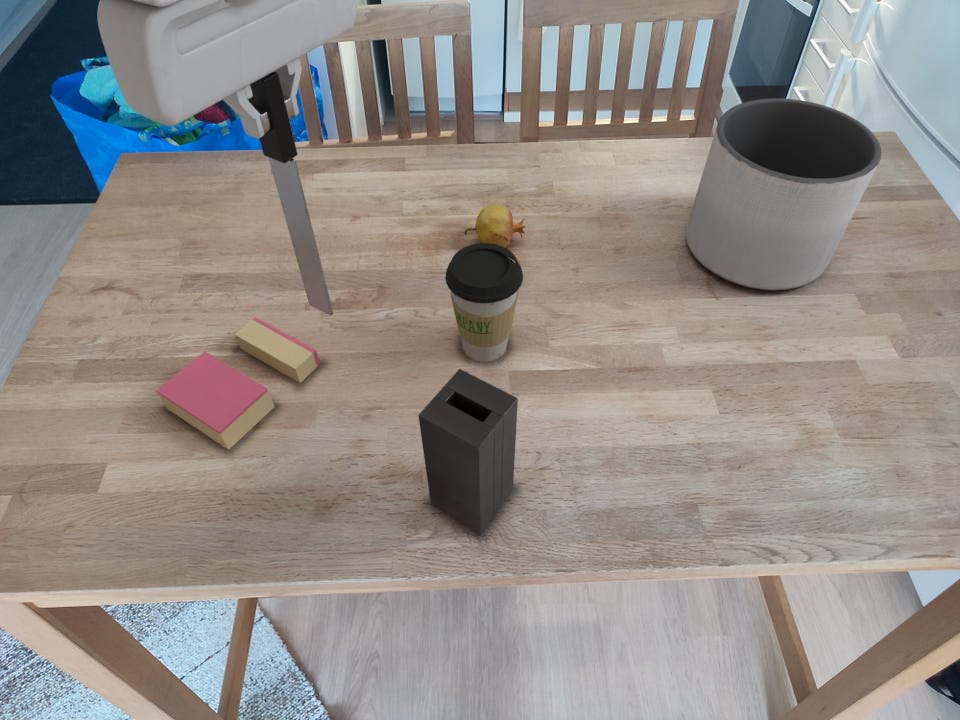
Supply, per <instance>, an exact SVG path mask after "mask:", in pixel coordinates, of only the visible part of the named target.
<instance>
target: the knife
mask: <svg viewBox="0 0 960 720" xmlns="http://www.w3.org/2000/svg"><path fill="white" fill-rule="evenodd" d="M250 86H251V90H252V94H253V96H252V97H251V98H250V99H247V100H248V101H249V102H250V104H251V105H252V106H255V107H258V108H259V109H263V110H266V111H268V112H269V116H270V119H271V120H270V123H271V124H272V127H273V129H272V131H270V132H269V133H267V134H266V135H264V136H262V137H261V138H259V139H258V140H259V143H260V147H261V149H262V153H263V156H265V157H267V158H268V162H269V166H270V169H271V172H272V176H273V180H274V184H275V187H276V191H277V194H278V197H279V201H280V205H281V209H282V212H283V215H284V219H285V223H286V226H287V230H288V233H289V237H290V240H291V244H292V249H293V251H294V255H295V259H296V262H297V266H298V269H299V273H300V276H301V280H302V283H303V287H304V290H305V294H306V298H307V301H308V305H309V306H310V307H313V308H314V309H317V310H319V311H321V312H323V313H324V314H327V315H329V316H333V315H334V311H333V306H332V303H331V302H332V301H331V298H330V294H329V291H328V287H327V282H326V278H325V273H324V270H323V266H322V262H321V258H320V253H319V250H318V246H317V241H316V237H315V233H314V228H313V225H312V221H311V216H310V213H309V209H308V205H307V201H306V196H305V193H304V189H303V184H302V180H301V176H300V172H299V168H298V164H297V160H296V159H295V157H297V156H298V151H297V147H296V146H297V145H296V141H295V138H294V134H293V130H292V126H291V122H290V121H291V120H289V117H288V113H287V108H286V104H285V100H284V96H283V92H282V88H281V84H280V79H279V75H278V73H277V72H275V71H274V72H272V73H270V74H268V75H266V76H265V77H263V78H261V79H259V80H257V81H255V82H254V83H252V84H250Z"/></svg>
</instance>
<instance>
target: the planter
mask: <svg viewBox="0 0 960 720" xmlns="http://www.w3.org/2000/svg"><path fill="white" fill-rule="evenodd" d="M881 159H882V147H881V144H880V142H879V140H878V138H877V137H876V135H875V134H874V132H872V131H871V130H870V129H869V128H868V127H867V126H866V125H864V124H863V123H862V122H861V121H859V120H857V119H856V118H854V117H852V116H850V115H849V114H846V113H845V112H843V111H840V110H838V109H835V108H833V107H831V106H827V105H823V104H819V103H816V102H812V101H808V100H802V99H794V98H779V97H777V98H775V97H773V98H762V99H761V98H759V99H754V100H748V101H746V102H745V101H744V102H741V103H739V104H737V105H734V106H732V107H731V108H729V109H728V110H726V111H725V112H723V114H722V115H721V116H720V118H719V119H718V121H717V124H716V127H715V131H714V134H713V137H712V141H711V144H710V147H709V151H708V154H707V158H706V161H705V164H704V168H703V171H702V174H701V177H700V180H699V184H698V186H697V187H698V188H697V190H696V193H695V197H694V201H693V204H692V206H691V210H690V213H689V217H688V220H687V224H686V231H685V233H686V234H685V238H686V243H687V246H688V248H689V251H690V252H691V254H692V255H693V257H694V258H695V259H696V260H697V261H698V262H699V263H700V264H701V265H702V266H703V267H704V268H706V270H708V271H710V272H711V273H713V274H714V275H716V276H717V277H719V278H720V279H723V280H725V281H726V282H730V283H732V284H735V285H738V286H741V287H744V288H749V289H753V290H761V291H785V290H792V289H797V288H800V287H803V286H806V285H808V284H810V283H812V282H814V281H816V280H817V279H818V278H819V277H821V275H822V274H823V273H824V272H825V270H826V269H827V267H828V266H829V264H830V262H831V261H832V259H833V257H834V255H835V253H836V251H837V249H838V247H839V244H840V243H841V240H842V239H843V236H844V234H845V232H846V231H847V228H848V226H849V224H850V222H851V220H852V218H853V216H854V214H855V212H856V210H857V208H858V205H859V204H860V201H861V200H862V198H863V196H864V194H865V191H866V190H867V188H868V186H869V184H870V182H871V180H872V179H873V176H874V174H875V172H876V170H877V168H878V166H879V164H880V161H881Z"/></svg>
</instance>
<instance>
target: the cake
mask: <svg viewBox="0 0 960 720" xmlns="http://www.w3.org/2000/svg"><path fill="white" fill-rule="evenodd" d="M155 392H156V393H157V395H158V396H159V398H160V400H161V401H162V403H163V405H164V407H166V409H167V410H168V411H170V413H172V414H174V415H176V416H177V417H179V418H180V419H181V420H183V421H185V422H186V423H187V424H189V425H191V426H192V427H194V428H195V429H197V430H198V431H199V432H201V433H202V434H204V435H205V436H207V437H208V438H210V439H211V440H213V441H214V442H216V443H218V444H219V445H220V446H222V447H224V448H225V449H226V450H231V449H232V448H233V447H234V446H235V445H236V444H237V443H238V442H239V441H240V440H242V438H243V437H245V435H246V434H247V433H249V432H250V431H251V430H252V429H253V428H254V427H255V426H256V425H257V424H258V423H259V422H260V421H262V419H264V417H266V416H267V415H268V414H269V413H270V412H271V411H272V410H274V408H275V404H274V401H273V399H272V396H271V394H270V392H269V389H268V388H267V387H266V386H264V385H263V384H261V383H260V382H257V381H256V380H254V379H252V378H251V377H249V376H247V374H246V375H245V374H244V373H242V372H241V371H239V370H237V369H236V368H234V367H232V366H231V365H229V364H227V363H226V362H224V361H223V360H221V359H219V358H217V357H215V356H214V355H212V354H211V353H209V352H207V351H206V350H204V351H203V352H201V353H200V354H199V355H198V356H197V357H195V358H194V359H193V360H192V361H190V362H189V363H188V364H187V365H185V366H184V367H183V368H182V369H181V370H180V371H178V372H177V373H176V374H175V375H173V376H172V377H170V378H169V379H168V380H167V381H166V382H165V383H163V384H162V385H161V386H159V388H157V389H156V391H155Z"/></svg>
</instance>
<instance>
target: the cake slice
mask: <svg viewBox="0 0 960 720" xmlns="http://www.w3.org/2000/svg"><path fill="white" fill-rule="evenodd" d="M234 337H235V340H236V342H237V344H238V346H239V349H241V350H243V352H246V353H247V354H249V355H250V356H252V357H255V358H256V359H257V360H259V361H260V362H261V361H262V362H263V363H265V364H267V365H268V366H269V367H271V368H273V369H275V370H277V371H278V372H280V373H282V374H283V375H286V376H287V377H289V378H290V379H292V380H294V381H296V382H298V383H299V384H301V383H302V382H304V380H305V379H307V377H309V376H310V375H311V374H312V373H313V372H314V371H315V370H316V369H317V368H318V367H319V366H320V365H321V362H320V358H319V355H318V352H317V349H315V348H313V347H311V346H309V345H307V344H306V343H304V342H302V341H300V340H299V339H296V338H295V337H293V336H291V335H289V334H287V333H286V332H283V331H282V330H280V329H278V328H276V327H275V326H273V325H270V324H269V323H268V322H266V321H264V320H261V319H260V318H258V317H257V316H254V317H253V318H252V319H251V320H250V321H248V323H246V324H245V325H243V326H242V327H241V328H240V329H239V330H238V331H236V332H235V333H234Z"/></svg>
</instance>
